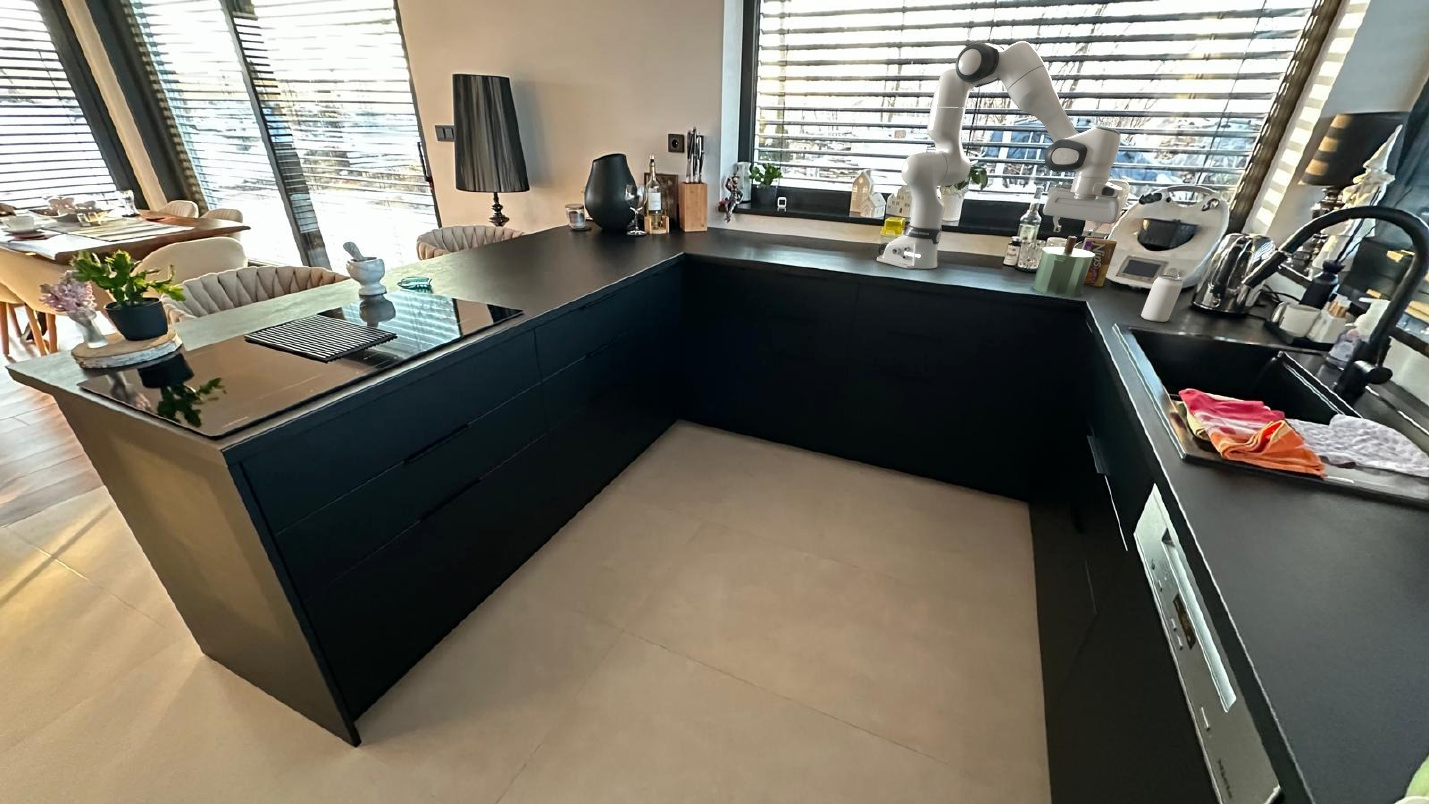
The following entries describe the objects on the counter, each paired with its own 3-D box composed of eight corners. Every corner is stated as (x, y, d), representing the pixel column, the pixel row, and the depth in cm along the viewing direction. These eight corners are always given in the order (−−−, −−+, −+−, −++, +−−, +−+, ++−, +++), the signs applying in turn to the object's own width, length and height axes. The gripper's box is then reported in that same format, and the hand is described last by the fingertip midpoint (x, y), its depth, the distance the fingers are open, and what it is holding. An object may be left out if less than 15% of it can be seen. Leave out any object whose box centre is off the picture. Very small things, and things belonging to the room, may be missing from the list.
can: (1157, 315, 162) (1173, 274, 156) (1173, 322, 156) (1191, 280, 151) (1135, 314, 162) (1151, 274, 156) (1150, 322, 156) (1167, 280, 150)
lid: (1035, 254, 176) (1040, 236, 173) (1048, 248, 185) (1053, 230, 182) (1087, 263, 167) (1093, 243, 164) (1098, 255, 176) (1104, 237, 174)
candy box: (1100, 285, 190) (1116, 239, 183) (1102, 288, 187) (1118, 242, 180) (1070, 281, 194) (1085, 236, 187) (1072, 284, 190) (1086, 239, 183)
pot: (1024, 293, 179) (1035, 254, 174) (1041, 282, 192) (1052, 245, 186) (1071, 302, 171) (1084, 262, 165) (1086, 290, 184) (1099, 252, 178)
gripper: (1047, 183, 171) (1034, 230, 177) (1125, 191, 159) (1107, 241, 165) (1053, 182, 175) (1040, 227, 181) (1129, 190, 163) (1112, 238, 169)
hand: (1073, 234), depth 173 cm, fingers open, 8 cm apart
